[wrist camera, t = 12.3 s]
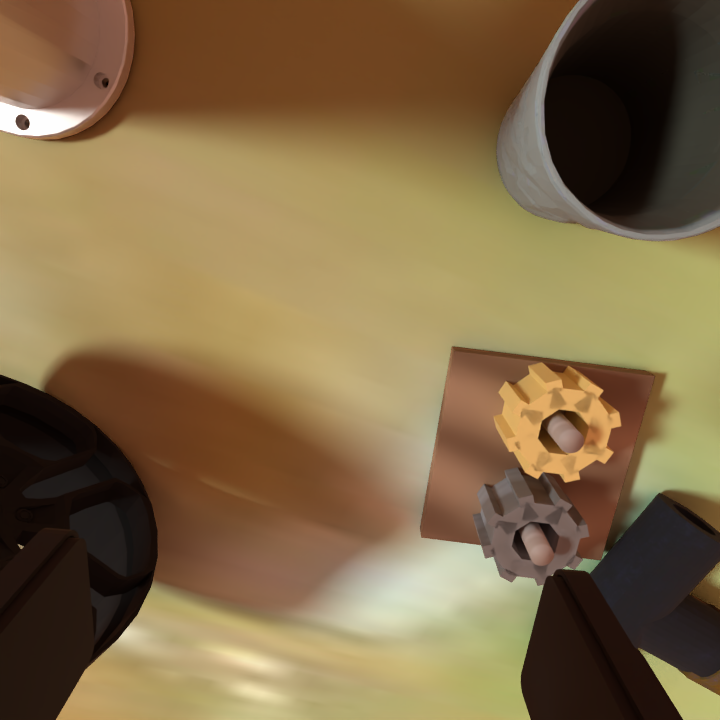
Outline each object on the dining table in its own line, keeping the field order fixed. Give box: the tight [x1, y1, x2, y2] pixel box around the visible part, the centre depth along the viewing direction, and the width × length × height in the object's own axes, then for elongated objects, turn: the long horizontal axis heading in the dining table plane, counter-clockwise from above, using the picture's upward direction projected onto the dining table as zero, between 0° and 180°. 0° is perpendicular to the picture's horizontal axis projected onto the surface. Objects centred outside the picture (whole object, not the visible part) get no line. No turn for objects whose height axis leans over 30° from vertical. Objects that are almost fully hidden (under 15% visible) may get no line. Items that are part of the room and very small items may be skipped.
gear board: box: [420, 347, 655, 586], centre depth 32 cm, size 14×13×6 cm
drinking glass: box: [497, 0, 720, 241], centre depth 24 cm, size 10×10×12 cm
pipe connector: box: [589, 493, 720, 695], centre depth 36 cm, size 12×5×15 cm
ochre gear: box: [494, 362, 621, 483], centre depth 31 cm, size 6×6×4 cm
